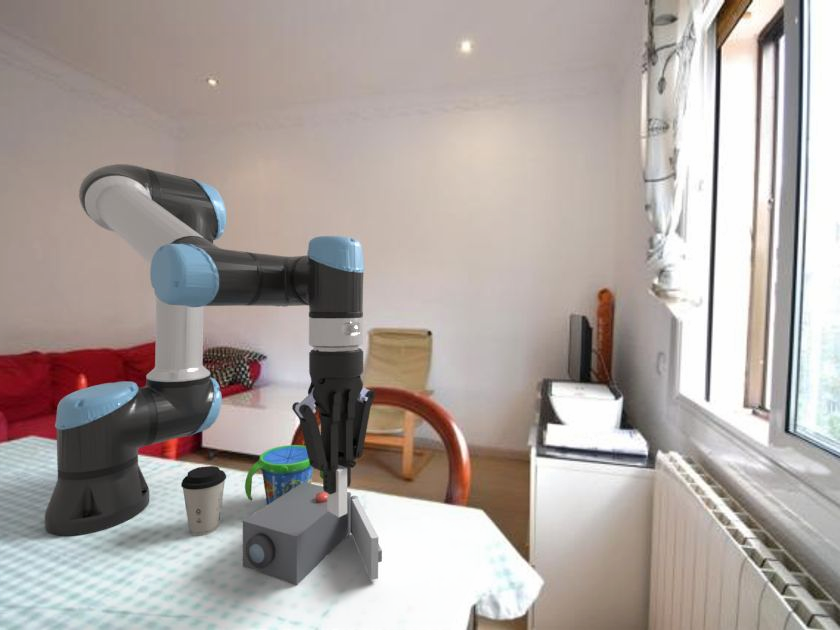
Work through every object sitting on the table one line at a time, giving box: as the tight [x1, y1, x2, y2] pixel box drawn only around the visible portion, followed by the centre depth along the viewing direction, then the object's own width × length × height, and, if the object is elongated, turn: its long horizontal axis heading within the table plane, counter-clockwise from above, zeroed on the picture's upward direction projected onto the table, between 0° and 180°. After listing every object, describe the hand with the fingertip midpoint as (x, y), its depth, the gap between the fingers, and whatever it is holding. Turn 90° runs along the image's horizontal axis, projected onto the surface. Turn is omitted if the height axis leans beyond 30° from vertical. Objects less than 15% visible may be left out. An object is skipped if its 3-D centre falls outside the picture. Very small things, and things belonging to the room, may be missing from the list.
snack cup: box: [244, 444, 323, 506], centre depth 78 cm, size 16×10×10 cm
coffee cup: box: [180, 465, 227, 537], centre depth 70 cm, size 7×7×10 cm
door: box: [349, 495, 383, 581], centre depth 63 cm, size 2×13×6 cm, turn 22°
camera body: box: [242, 482, 352, 586], centre depth 64 cm, size 10×15×8 cm, turn 158°
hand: (337, 511), depth 57 cm, fingers closed
